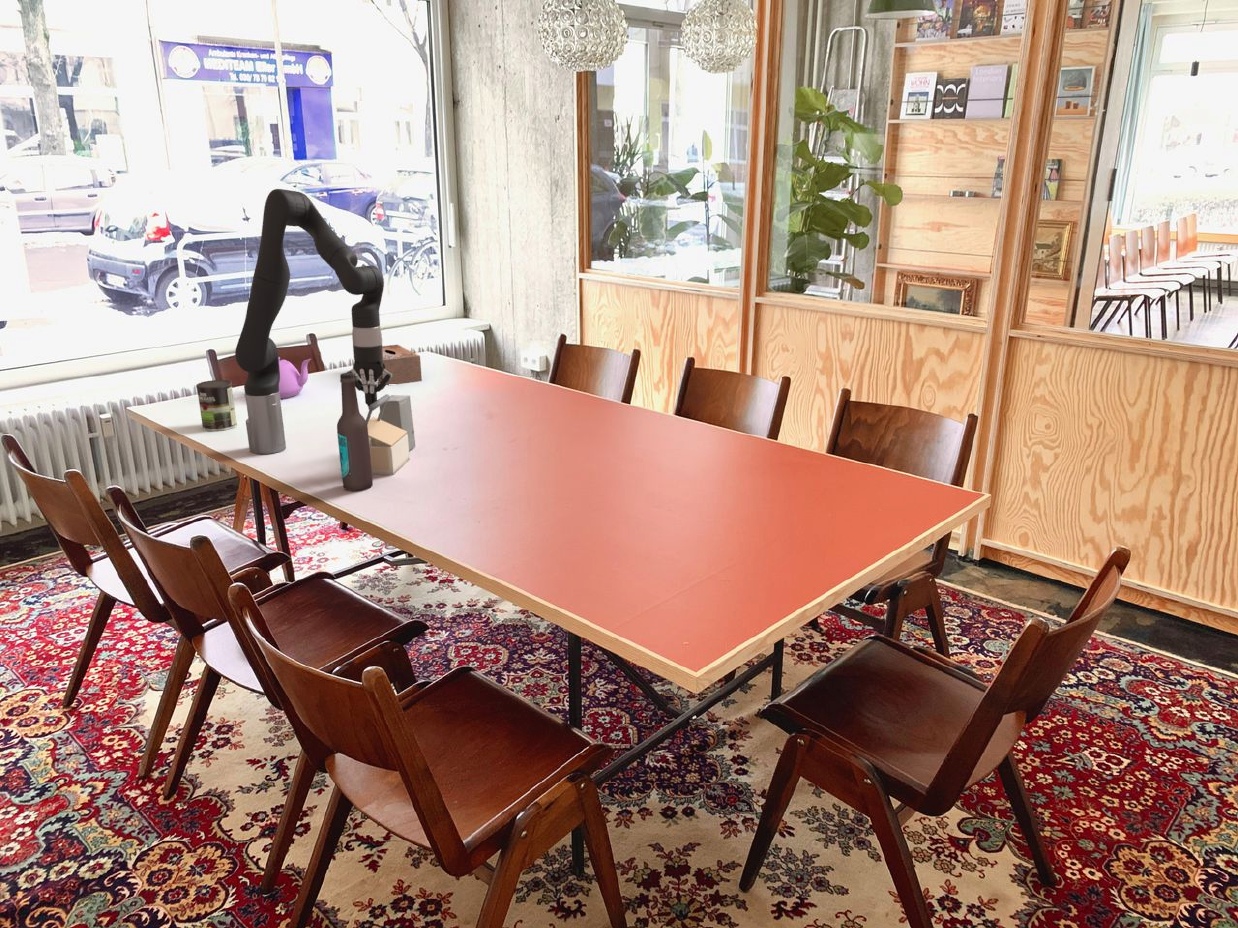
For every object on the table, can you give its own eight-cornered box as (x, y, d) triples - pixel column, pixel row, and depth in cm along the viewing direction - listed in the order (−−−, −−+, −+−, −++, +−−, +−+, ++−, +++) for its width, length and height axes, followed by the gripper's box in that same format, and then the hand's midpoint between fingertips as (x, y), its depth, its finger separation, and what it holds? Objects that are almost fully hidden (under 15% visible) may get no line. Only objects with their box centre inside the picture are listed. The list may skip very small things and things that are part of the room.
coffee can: (220, 433, 288) (214, 388, 284) (195, 429, 292) (188, 385, 287) (244, 424, 297) (239, 381, 293) (220, 421, 301) (213, 378, 296)
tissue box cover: (363, 373, 367) (361, 348, 363) (399, 369, 374) (397, 344, 370) (384, 386, 346) (382, 360, 343) (421, 381, 353) (420, 355, 350)
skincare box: (405, 455, 266) (400, 401, 261) (381, 453, 268) (377, 400, 263) (416, 446, 274) (412, 394, 269) (394, 445, 275) (390, 393, 270)
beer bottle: (341, 484, 243) (329, 372, 234) (370, 480, 246) (360, 369, 236) (345, 493, 237) (333, 378, 227) (375, 489, 239) (364, 375, 230)
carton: (353, 473, 251) (351, 447, 248) (372, 457, 264) (370, 432, 261) (393, 475, 249) (390, 448, 247) (410, 459, 263) (408, 433, 260)
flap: (355, 430, 247) (364, 402, 244) (372, 417, 259) (382, 391, 257) (390, 446, 248) (400, 419, 245) (406, 433, 260) (416, 406, 257)
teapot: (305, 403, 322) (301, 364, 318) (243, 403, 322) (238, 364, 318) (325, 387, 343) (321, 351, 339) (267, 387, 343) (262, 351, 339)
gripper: (337, 344, 243) (342, 408, 249) (386, 346, 242) (390, 411, 247) (349, 339, 250) (353, 401, 256) (396, 341, 249) (400, 403, 254)
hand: (371, 405), depth 251 cm, fingers closed
